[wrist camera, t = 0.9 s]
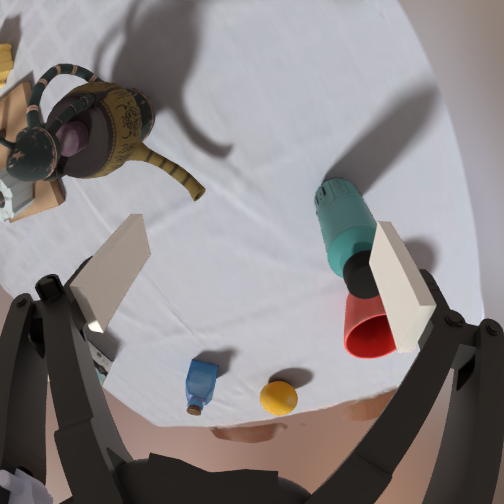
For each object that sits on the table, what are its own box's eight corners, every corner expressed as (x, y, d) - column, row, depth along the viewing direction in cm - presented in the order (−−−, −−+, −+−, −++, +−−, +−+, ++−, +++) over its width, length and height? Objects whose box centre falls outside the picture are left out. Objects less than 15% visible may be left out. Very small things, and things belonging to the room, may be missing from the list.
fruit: (255, 386, 68) (252, 414, 61) (271, 371, 64) (269, 401, 57) (286, 395, 69) (285, 422, 63) (304, 381, 65) (304, 410, 58)
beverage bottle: (316, 169, 39) (340, 246, 22) (362, 177, 38) (415, 256, 22) (308, 212, 42) (322, 308, 25) (352, 218, 42) (389, 314, 25)
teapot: (106, 55, 31) (-23, 66, 12) (237, 151, 38) (186, 236, 19) (71, 120, 37) (-44, 172, 17) (187, 211, 44) (119, 321, 25)
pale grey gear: (1, 184, 42) (-18, 197, 37) (13, 152, 38) (-9, 164, 33) (27, 215, 45) (8, 230, 40) (40, 185, 41) (19, 200, 36)
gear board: (-17, 120, 36) (-48, 132, 28) (29, 81, 33) (-8, 89, 25) (15, 218, 48) (-11, 239, 41) (65, 201, 45) (34, 224, 37)
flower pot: (329, 287, 49) (335, 329, 41) (388, 265, 46) (405, 304, 37) (346, 326, 54) (353, 366, 46) (399, 306, 50) (413, 345, 42)
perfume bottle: (218, 365, 64) (208, 409, 54) (216, 378, 68) (207, 420, 58) (192, 359, 64) (179, 403, 54) (191, 373, 68) (180, 414, 58)
